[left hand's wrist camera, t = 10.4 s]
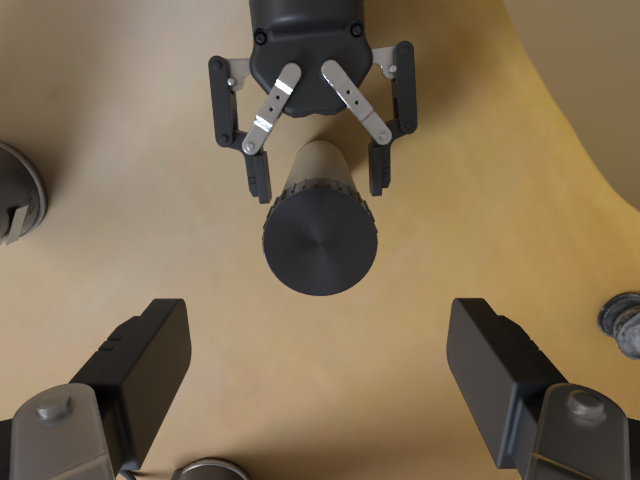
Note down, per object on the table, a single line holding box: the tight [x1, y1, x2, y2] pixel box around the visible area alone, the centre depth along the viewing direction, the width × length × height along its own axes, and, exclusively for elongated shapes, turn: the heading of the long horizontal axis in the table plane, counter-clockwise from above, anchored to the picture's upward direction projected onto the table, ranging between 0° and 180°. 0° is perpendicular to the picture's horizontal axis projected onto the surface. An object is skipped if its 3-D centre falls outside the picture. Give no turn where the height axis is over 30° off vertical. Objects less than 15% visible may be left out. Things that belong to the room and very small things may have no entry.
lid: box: [262, 177, 378, 296], centre depth 19 cm, size 5×5×2 cm
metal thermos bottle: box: [281, 140, 358, 195], centre depth 27 cm, size 5×5×20 cm
